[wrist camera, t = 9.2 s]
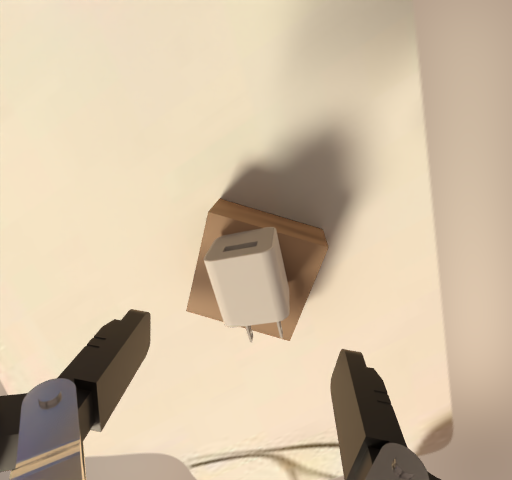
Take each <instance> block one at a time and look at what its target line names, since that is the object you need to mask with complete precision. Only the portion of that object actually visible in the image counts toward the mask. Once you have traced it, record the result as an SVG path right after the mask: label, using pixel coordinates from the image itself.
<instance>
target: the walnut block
mask: <svg viewBox="0 0 512 480" xmlns="http://www.w3.org/2000/svg"><path fill="white" fill-rule="evenodd" d="M265 227H274V228H276V231H277V236H278V240H279V245H280V249H281V254H282V259H283V263H284V268H285V272H286V277H287V282H288V286H289V311H290V313H289V316H288V317H287V318H286V319H284V320H282V321H281V326H282V330H283V338H282V339H284V340H288V341H290V339H291V337H292V334H293V332H294V329H295V327H296V325H297V322H298V320H299V317H300V315H301V313H302V310H303V308H304V305H305V303H306V300H307V298H308V296H309V293H310V291H311V288H312V286H313V284H314V281H315V279H316V276H317V274H318V271H319V269H320V267H321V264H322V262H323V259H324V257H325V254H326V252H327V250H328V244H327V241H326V238H325V235H324V232H323V229H320V228H317V227H314V226H310V225H307V224H303V223H300V222H297V221H293V220H290V219H287V218H283V217H280V216H276V215H273V214H270V213H266V212H263V211H260V210H256V209H253V208H250V207H246V206H243V205H239V204H236V203H233V202H229V201H226V200H223V199H219V200H218V201H217V202H216V203H215V205H214V206H213V207H212V208H211V209H210V211H209V212H208V216H207V220H206V225H205V229H204V234H203V238H202V243H201V247H200V252H199V256H198V261H197V265H196V270H195V274H194V279H193V283H192V288H191V292H190V297H189V301H188V306H187V310H186V311H188V312H191V313H195V314H198V315H201V316H205V317H208V318H212V319H215V320H219V321H222V322H223V318H222V315H221V312H220V309H219V306H218V303H217V300H216V297H215V294H214V290H213V287H212V284H211V281H210V278H209V275H208V272H207V269H206V265H205V262H204V257H205V255H206V253H207V252H208V250H209V248H210V247H211V245H212V243H213V242H214V240H215V239H217V238H218V237H221V236H223V235H229V234H234V233H239V232H245V231H250V230H255V229H261V228H265ZM242 327H243V328H246V327H245V326H242ZM251 329H252V330H253V331H257V332H260V333H264V334H267V335H270V336H274V337H277V338H280V334H279V330H278V326H277V322H273V323H265V324H257V325H251Z"/></svg>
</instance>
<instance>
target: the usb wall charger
mask: <svg viewBox="0 0 512 480" xmlns="http://www.w3.org/2000/svg"><path fill="white" fill-rule="evenodd" d="M204 262H205V265H206V269H207V272H208V275H209V278H210V281H211V284H212V287H213V290H214V294H215V297H216V300H217V303H218V306H219V309H220V312H221V315H222V318H223V322H224V325H225V326H227V327H230V328H234V327H242V326H245V327H246V330H247V334H248V337H249V340H250V342H252V339H253V333H252V329H251V325H257V324H265V323H273V322H277V326H278V330H279V334H280V338H281V339H282V338H283V330H282V326H281V321H282V320H284V319H286V318H287V317H288V316H289V313H290V311H289V286H288V282H287V277H286V272H285V268H284V263H283V259H282V254H281V249H280V245H279V240H278V236H277V231H276V228H274V227H265V228H261V229H255V230H250V231H245V232H239V233H234V234H229V235H223V236H221V237H218V238H217V239H215V240H214V242H213V243H212V245H211V247H210V248H209V250H208V252H207V253H206V255H205V257H204Z"/></svg>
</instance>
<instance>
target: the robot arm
mask: <svg viewBox="0 0 512 480" xmlns="http://www.w3.org/2000/svg"><path fill="white" fill-rule="evenodd" d="M149 346H150V313H149V312H144V311H139V310H133V309H131V310H129V311H128V313H127V314H126V315H125V316H124V317H123V319H122V320H116V319H114V320H113V321H111V322H109V323H108V324H106V325H104V326H103V327H102V328H101V329H100V330H99V331H98V332H97V334H96V335H95V336H94V338H92V339H91V340H90V341H89V343H88V344H87V346H85V347H84V348H83V349H82V351H81V352H80V353H79V354H78V355H77V356H76V357H75V359H74V360H73V361H72V362H71V363H70V364H69V365H68V367H67V368H66V369H65V370H64V371H63V372H62V373H61V374H60V376H59V377H58V378H57V379H51V380H48V381H45V382H43V383H41V384H39V385H37V386H36V387H34V388H33V389H32V390H31V391H30V392H29V393H25V394H17V395H7V396H0V472H3V471H9V470H12V471H11V473H10V477H9V480H86V471H85V459H84V447H83V440H84V439H85V437H86V436H87V434H88V432H89V431H90V430H93V431H98V432H101V431H102V429H103V428H104V426H105V424H106V423H107V421H108V419H109V418H110V416H111V414H112V412H113V411H114V409H115V407H116V406H117V404H118V402H119V401H120V399H121V397H122V396H123V394H124V392H125V390H126V389H127V387H128V385H129V384H130V382H131V380H132V379H133V377H134V375H135V374H136V372H137V370H138V368H139V367H140V365H141V363H142V362H143V360H144V358H145V357H146V355H147V352H148V349H149ZM331 397H332V403H333V409H334V416H335V422H336V428H337V435H338V441H339V447H340V454H341V460H342V466H343V473H344V479H345V480H441V479H439V478H436V477H435V476H433V475H431V474H430V473H429V472H427V470H426V468H425V466H424V464H423V463H422V461H421V460H420V459H419V458H418V457H417V456H416V454H415V453H413V452H412V451H411V450H410V449H408V448H407V445H406V443H405V440H404V437H403V434H402V432H401V429H400V426H399V423H398V421H397V418H396V415H395V412H394V410H393V407H392V406H391V401H390V399H389V396H388V395H387V390H386V388H385V385H384V382H383V380H382V379H381V377H380V376H379V375H378V373H377V372H376V371H375V370H374V368H368V367H366V364H365V361H364V358H363V355H362V353H361V352H356V351H350V350H345V349H342V350H341V351H340V354H339V357H338V360H337V363H336V366H335V368H334V371H333V374H332V378H331Z"/></svg>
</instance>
